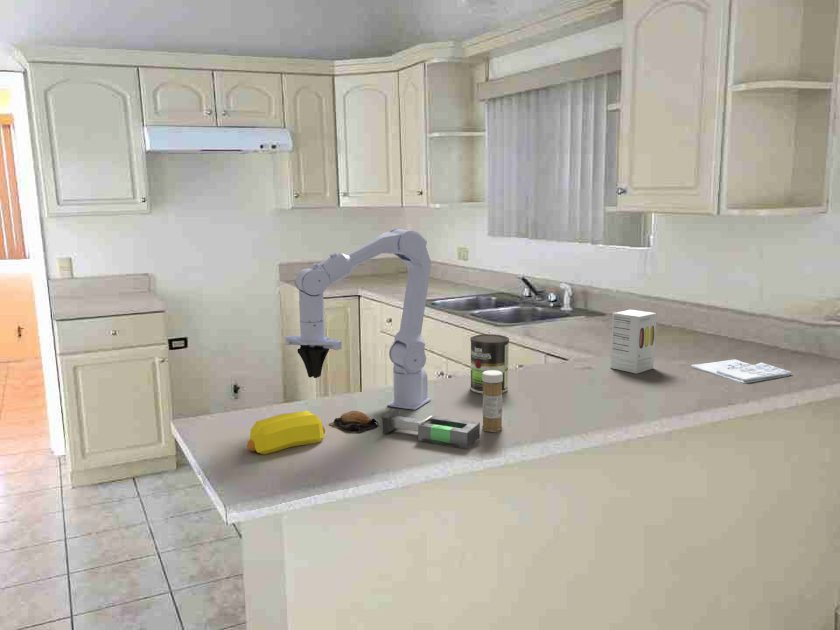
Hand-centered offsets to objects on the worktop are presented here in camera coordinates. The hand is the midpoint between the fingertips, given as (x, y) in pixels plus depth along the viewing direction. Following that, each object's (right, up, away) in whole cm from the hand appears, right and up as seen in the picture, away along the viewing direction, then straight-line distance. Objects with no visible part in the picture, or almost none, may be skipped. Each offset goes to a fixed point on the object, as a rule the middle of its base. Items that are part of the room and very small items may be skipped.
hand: (314, 376), depth 173 cm
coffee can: (+44, -6, +25) cm, 51 cm away
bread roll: (+10, -12, -3) cm, 16 cm away
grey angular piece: (+22, -12, -9) cm, 27 cm away
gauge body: (+31, -13, -13) cm, 36 cm away
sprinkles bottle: (+41, -12, -7) cm, 44 cm away
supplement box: (+88, -1, +44) cm, 98 cm away
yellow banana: (-4, -14, -15) cm, 21 cm away
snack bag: (+118, -2, +39) cm, 124 cm away
